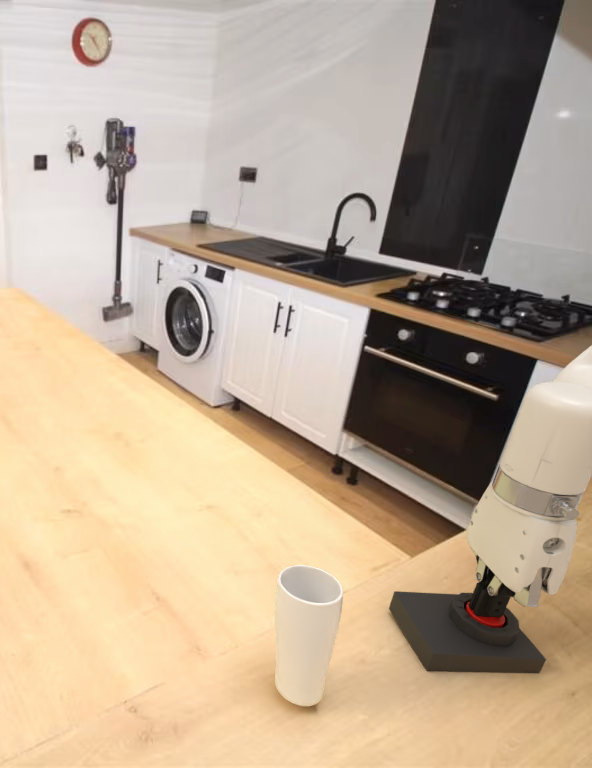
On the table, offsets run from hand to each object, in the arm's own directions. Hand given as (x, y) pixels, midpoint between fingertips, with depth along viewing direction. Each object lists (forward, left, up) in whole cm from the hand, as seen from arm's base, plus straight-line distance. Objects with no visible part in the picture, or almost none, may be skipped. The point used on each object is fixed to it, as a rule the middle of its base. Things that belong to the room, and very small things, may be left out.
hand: (484, 611), depth 68 cm
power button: (0, 0, -2) cm, 2 cm away
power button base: (+2, 0, -5) cm, 6 cm away
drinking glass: (+25, +8, -5) cm, 27 cm away
